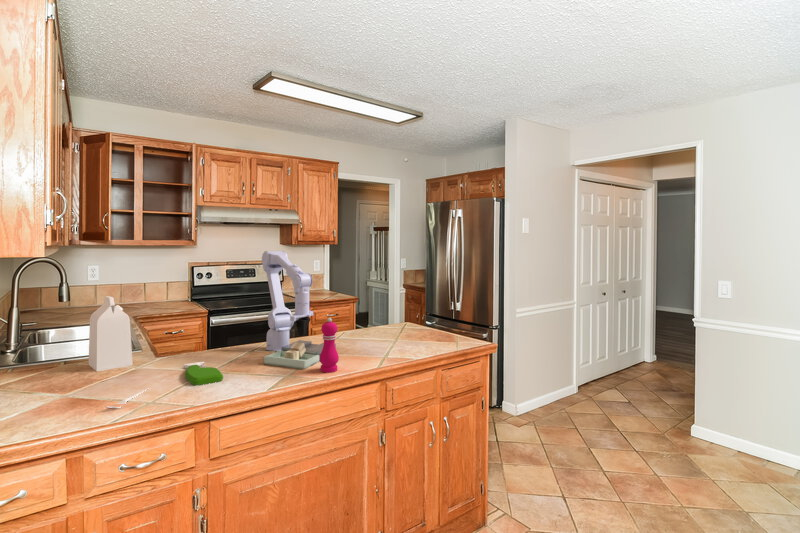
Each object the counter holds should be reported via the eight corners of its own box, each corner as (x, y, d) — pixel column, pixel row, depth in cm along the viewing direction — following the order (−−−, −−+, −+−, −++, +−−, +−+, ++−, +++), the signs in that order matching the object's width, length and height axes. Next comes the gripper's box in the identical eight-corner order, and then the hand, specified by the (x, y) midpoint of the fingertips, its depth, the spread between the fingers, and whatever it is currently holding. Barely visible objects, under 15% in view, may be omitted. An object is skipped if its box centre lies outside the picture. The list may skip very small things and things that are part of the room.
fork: (155, 390, 143) (155, 384, 143) (114, 413, 123) (114, 406, 123) (145, 389, 143) (145, 383, 143) (103, 412, 123) (103, 405, 123)
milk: (88, 364, 166) (86, 296, 165) (123, 358, 175) (121, 294, 173) (96, 371, 158) (95, 300, 157) (132, 365, 167) (131, 297, 165)
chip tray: (264, 364, 172) (264, 356, 172) (281, 356, 182) (281, 349, 182) (304, 369, 166) (304, 361, 166) (319, 361, 177) (319, 353, 177)
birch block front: (290, 359, 177) (284, 362, 173) (290, 349, 176) (284, 352, 173) (299, 360, 175) (293, 363, 172) (299, 350, 175) (293, 353, 171)
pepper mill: (342, 370, 166) (343, 318, 165) (327, 374, 160) (327, 320, 159) (330, 366, 171) (331, 315, 169) (315, 370, 165) (315, 317, 164)
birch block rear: (292, 356, 178) (290, 347, 176) (297, 350, 181) (295, 342, 179) (301, 357, 176) (299, 348, 175) (305, 351, 180) (304, 343, 178)
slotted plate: (281, 356, 183) (281, 347, 183) (299, 348, 196) (299, 340, 196) (319, 361, 177) (319, 351, 177) (335, 353, 190) (335, 344, 190)
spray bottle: (191, 387, 144) (176, 370, 164) (226, 381, 151) (207, 365, 171) (191, 379, 144) (176, 362, 164) (226, 373, 151) (207, 358, 170)
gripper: (301, 306, 172) (300, 340, 173) (319, 301, 186) (319, 333, 187) (285, 304, 174) (285, 338, 175) (305, 300, 188) (304, 331, 189)
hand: (301, 335), depth 181 cm, fingers closed
